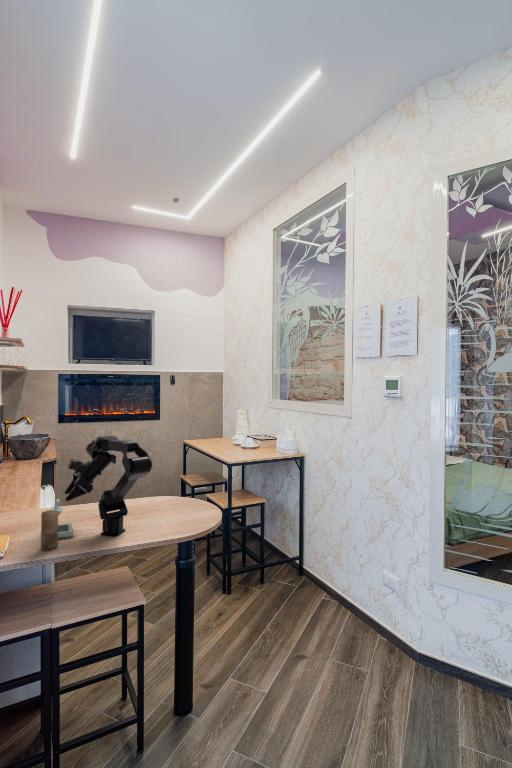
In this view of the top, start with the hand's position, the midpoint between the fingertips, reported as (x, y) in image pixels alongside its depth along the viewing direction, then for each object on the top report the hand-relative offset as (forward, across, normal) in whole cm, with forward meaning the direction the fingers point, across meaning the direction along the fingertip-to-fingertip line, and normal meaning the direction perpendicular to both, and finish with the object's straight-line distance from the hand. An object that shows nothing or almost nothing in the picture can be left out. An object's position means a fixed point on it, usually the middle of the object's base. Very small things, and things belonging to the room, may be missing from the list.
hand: (65, 496), depth 159 cm
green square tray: (+11, +3, +7) cm, 13 cm away
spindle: (+13, +15, +5) cm, 20 cm away
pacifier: (+12, -22, +6) cm, 26 cm away
